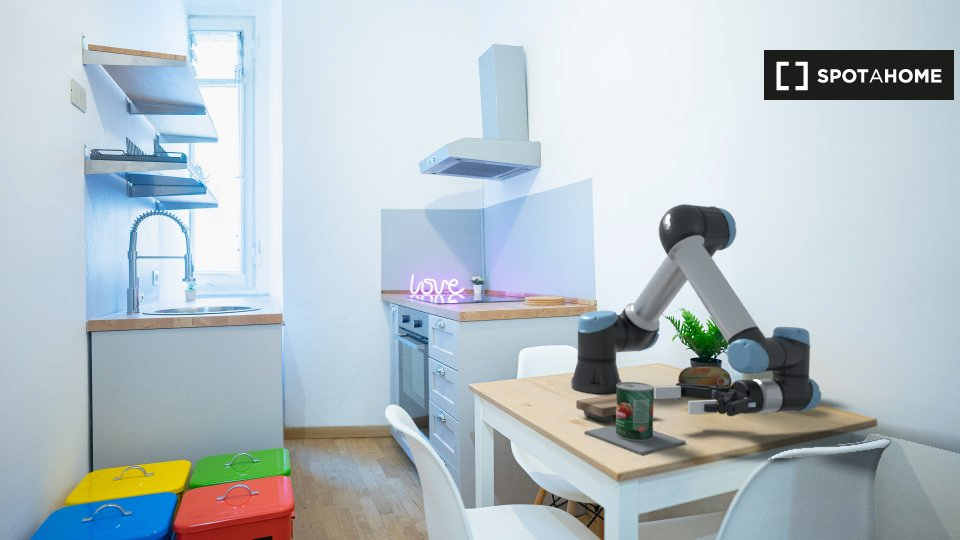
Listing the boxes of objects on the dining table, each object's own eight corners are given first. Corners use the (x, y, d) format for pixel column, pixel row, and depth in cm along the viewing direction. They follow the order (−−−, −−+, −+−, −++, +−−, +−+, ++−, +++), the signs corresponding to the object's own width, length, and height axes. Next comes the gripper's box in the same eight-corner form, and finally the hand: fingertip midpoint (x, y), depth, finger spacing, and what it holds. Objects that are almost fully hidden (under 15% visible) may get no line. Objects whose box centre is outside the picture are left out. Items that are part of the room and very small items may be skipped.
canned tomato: (660, 437, 120) (661, 387, 120) (637, 444, 115) (637, 391, 115) (631, 428, 126) (632, 380, 126) (607, 434, 122) (608, 384, 122)
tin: (680, 396, 161) (681, 367, 161) (676, 393, 164) (677, 365, 164) (731, 396, 161) (732, 367, 161) (726, 393, 165) (727, 365, 164)
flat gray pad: (584, 433, 124) (584, 431, 124) (628, 424, 131) (628, 422, 131) (640, 454, 110) (640, 452, 110) (685, 443, 118) (685, 440, 118)
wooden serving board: (576, 416, 138) (576, 400, 138) (621, 407, 146) (621, 392, 146) (602, 425, 130) (602, 408, 130) (648, 416, 139) (648, 400, 139)
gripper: (795, 428, 115) (704, 433, 110) (719, 399, 139) (642, 402, 135) (796, 392, 115) (705, 396, 110) (720, 369, 139) (643, 372, 135)
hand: (670, 399), depth 123 cm, fingers open, 13 cm apart
